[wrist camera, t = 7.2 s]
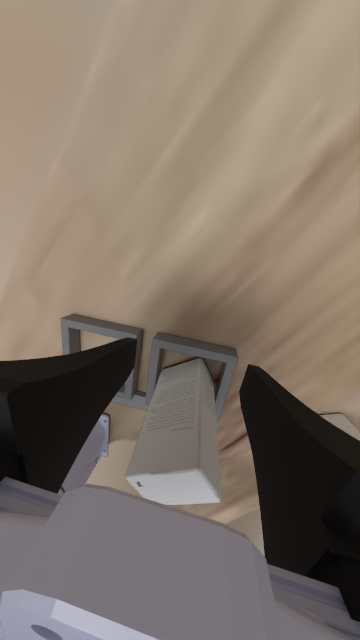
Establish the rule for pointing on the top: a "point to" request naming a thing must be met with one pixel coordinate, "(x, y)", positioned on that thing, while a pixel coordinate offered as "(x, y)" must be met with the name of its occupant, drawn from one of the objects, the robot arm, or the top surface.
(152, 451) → the skincare box
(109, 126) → the top surface
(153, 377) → the gray open square frames
